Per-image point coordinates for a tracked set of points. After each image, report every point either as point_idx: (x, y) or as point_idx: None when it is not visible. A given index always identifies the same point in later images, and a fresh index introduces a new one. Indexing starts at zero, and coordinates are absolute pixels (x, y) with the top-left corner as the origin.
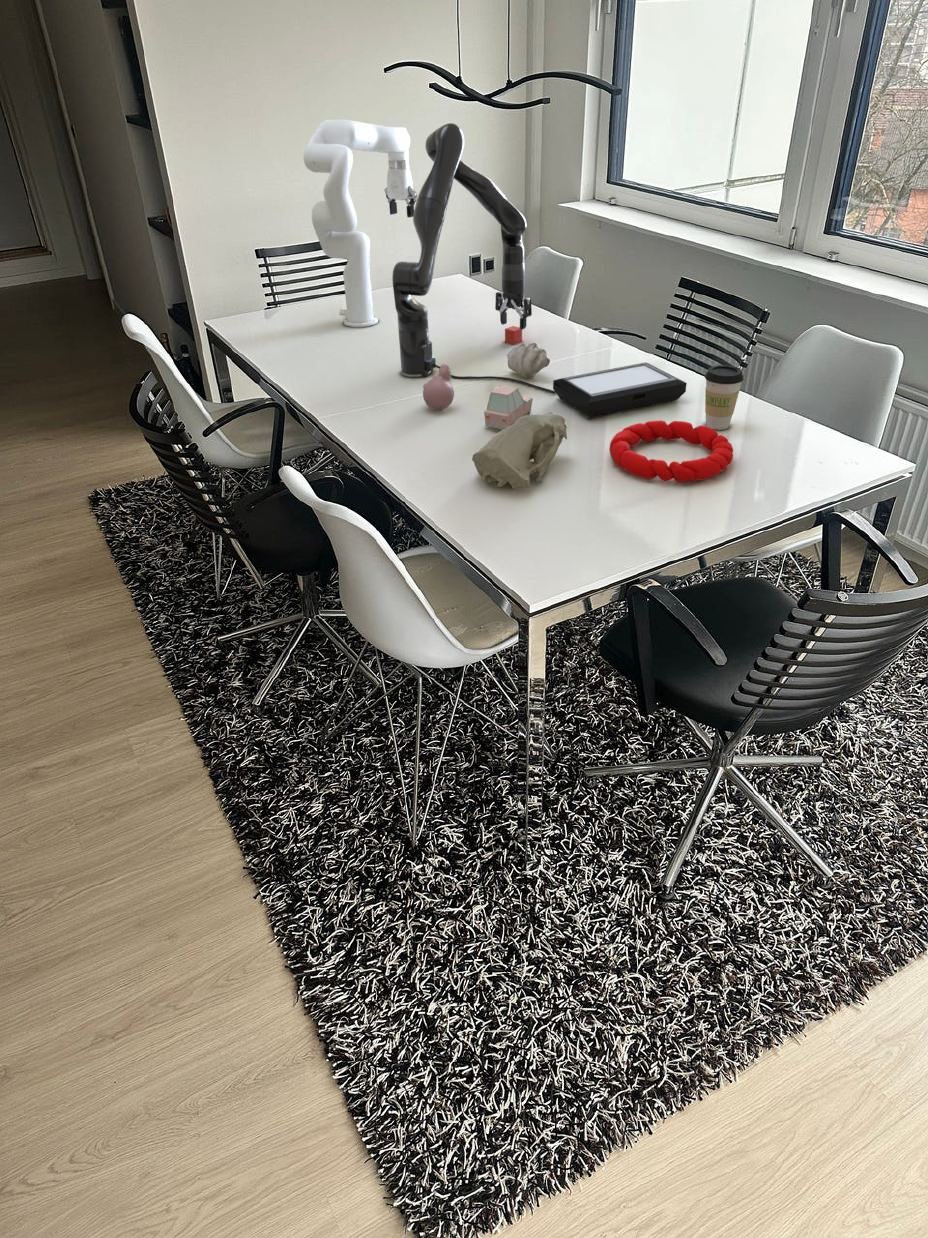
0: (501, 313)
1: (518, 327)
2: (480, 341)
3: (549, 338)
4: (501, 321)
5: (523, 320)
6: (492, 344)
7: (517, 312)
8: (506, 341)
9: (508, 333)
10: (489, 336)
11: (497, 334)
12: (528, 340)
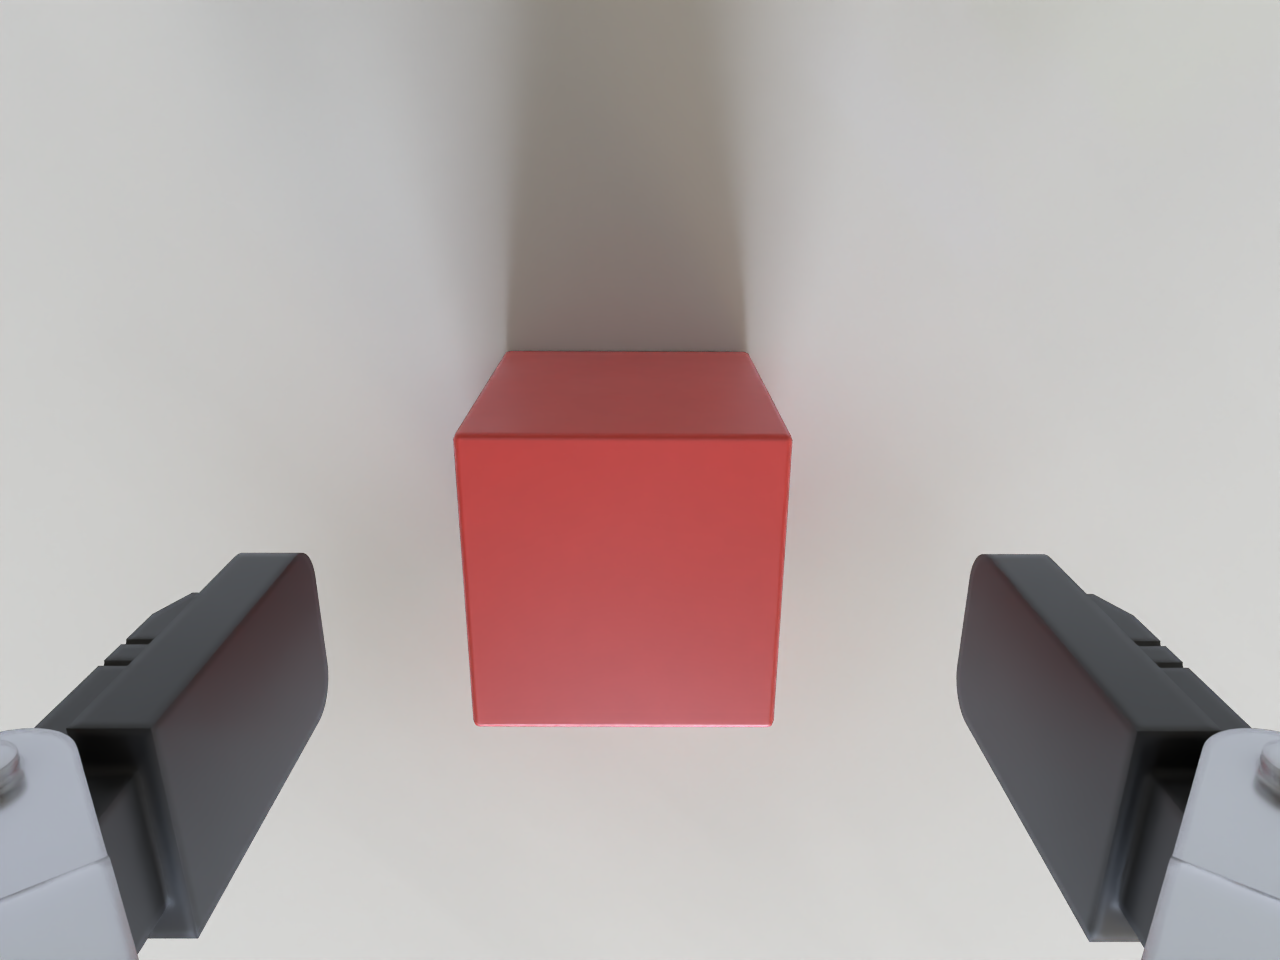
0: (1203, 746)
1: (578, 710)
2: (1237, 51)
3: (313, 933)
4: (1051, 579)
5: (43, 721)
6: (876, 67)
7: (88, 854)
8: (704, 353)
9: (654, 404)
10: (1239, 433)
11: (1163, 608)
12: None
